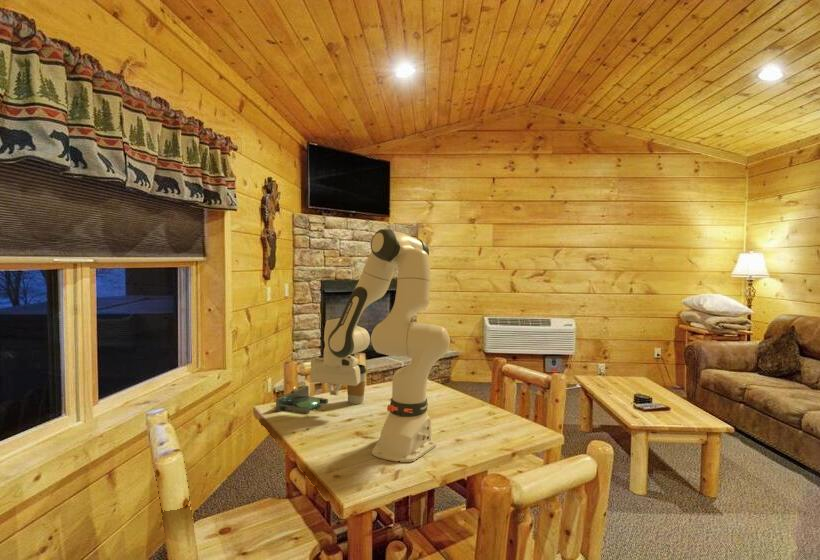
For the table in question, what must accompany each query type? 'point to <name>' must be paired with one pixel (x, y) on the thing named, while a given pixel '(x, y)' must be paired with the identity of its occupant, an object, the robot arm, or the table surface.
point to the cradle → (288, 400)
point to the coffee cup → (357, 388)
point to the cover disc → (307, 403)
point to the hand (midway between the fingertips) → (334, 394)
